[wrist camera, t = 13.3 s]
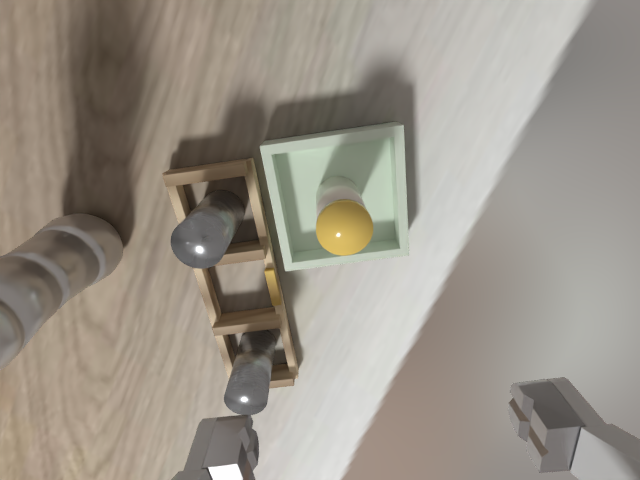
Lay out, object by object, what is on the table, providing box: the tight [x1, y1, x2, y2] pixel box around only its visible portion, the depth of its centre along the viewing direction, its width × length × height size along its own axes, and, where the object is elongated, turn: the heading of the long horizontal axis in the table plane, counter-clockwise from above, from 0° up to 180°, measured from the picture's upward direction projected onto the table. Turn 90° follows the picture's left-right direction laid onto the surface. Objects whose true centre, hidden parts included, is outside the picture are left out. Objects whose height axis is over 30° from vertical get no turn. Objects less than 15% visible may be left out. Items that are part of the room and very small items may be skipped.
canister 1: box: [171, 190, 244, 269], centre depth 30 cm, size 4×4×8 cm
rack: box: [163, 158, 299, 388], centre depth 36 cm, size 25×8×2 cm, turn 8°
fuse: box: [316, 176, 373, 256], centre depth 29 cm, size 4×4×8 cm
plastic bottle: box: [0, 213, 123, 370], centre depth 26 cm, size 6×7×20 cm
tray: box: [260, 122, 409, 271], centre depth 32 cm, size 12×12×3 cm
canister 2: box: [224, 330, 276, 415], centre depth 37 cm, size 4×4×8 cm
